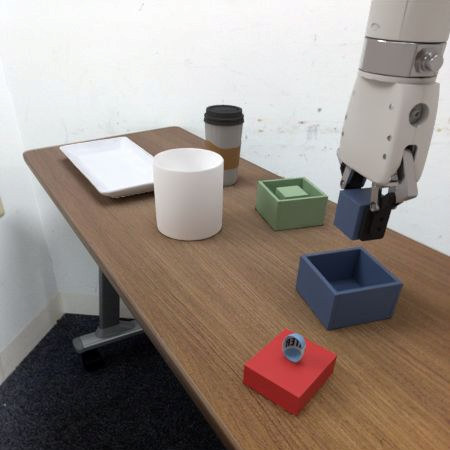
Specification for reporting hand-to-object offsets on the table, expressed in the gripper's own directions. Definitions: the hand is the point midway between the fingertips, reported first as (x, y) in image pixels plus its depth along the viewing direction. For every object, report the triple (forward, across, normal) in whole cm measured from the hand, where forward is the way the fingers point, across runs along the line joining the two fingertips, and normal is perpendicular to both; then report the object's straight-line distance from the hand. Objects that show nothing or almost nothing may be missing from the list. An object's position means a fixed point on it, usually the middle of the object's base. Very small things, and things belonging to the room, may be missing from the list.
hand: (358, 227), depth 52 cm
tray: (+12, +56, +25) cm, 63 cm away
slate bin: (+12, 0, 0) cm, 12 cm away
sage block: (+11, +27, -4) cm, 29 cm away
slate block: (0, 0, 0) cm, 0 cm away
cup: (+12, +28, +15) cm, 34 cm away
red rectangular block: (+12, -11, +13) cm, 21 cm away
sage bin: (+12, +27, -4) cm, 30 cm away
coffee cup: (+12, +47, +3) cm, 49 cm away
